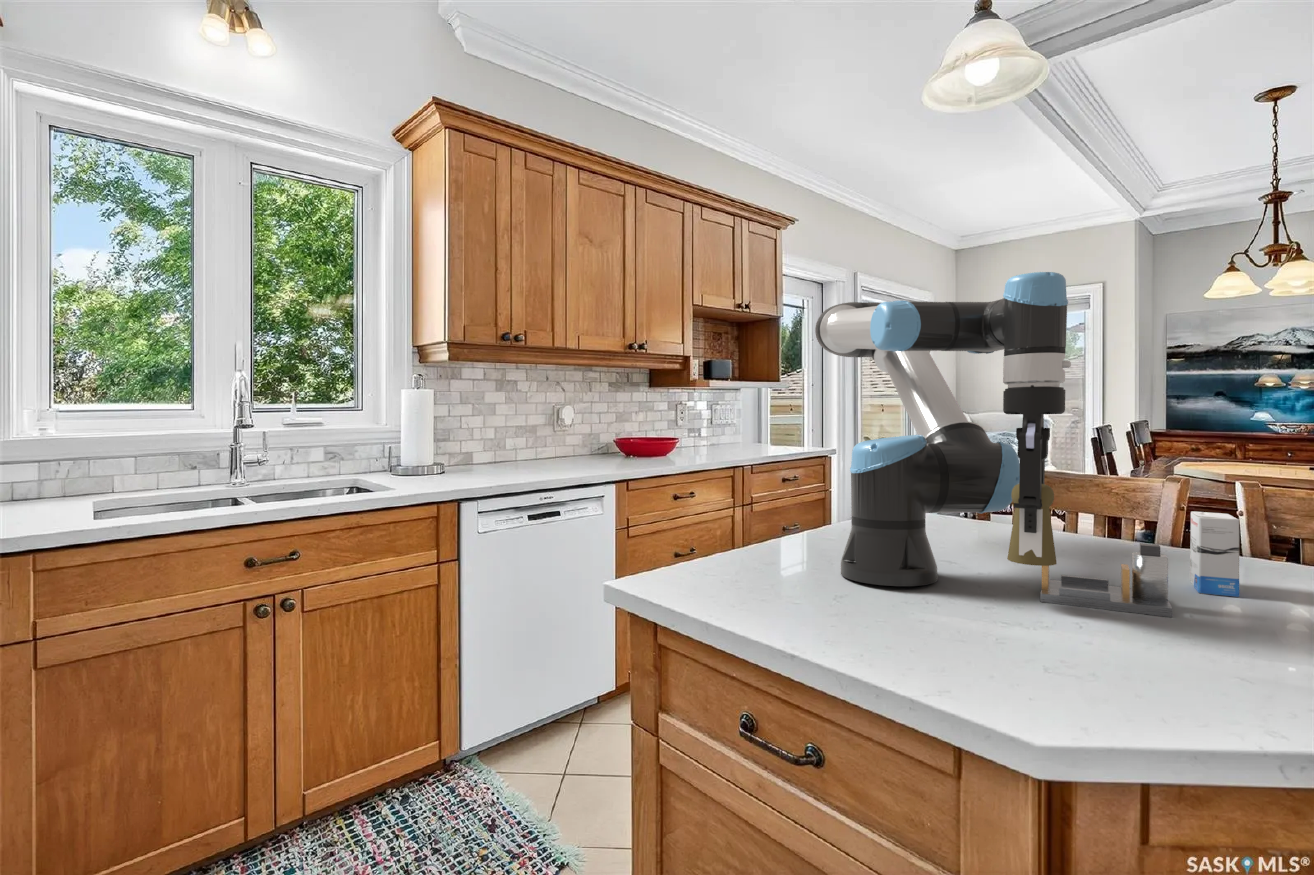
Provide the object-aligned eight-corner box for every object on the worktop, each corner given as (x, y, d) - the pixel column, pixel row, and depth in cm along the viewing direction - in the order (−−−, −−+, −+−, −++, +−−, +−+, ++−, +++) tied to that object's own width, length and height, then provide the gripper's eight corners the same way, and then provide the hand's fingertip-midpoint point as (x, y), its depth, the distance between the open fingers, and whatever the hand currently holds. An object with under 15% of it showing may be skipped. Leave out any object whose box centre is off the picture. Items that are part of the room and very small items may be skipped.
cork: (1064, 566, 88) (1065, 485, 88) (1015, 564, 89) (1016, 484, 89) (1046, 557, 94) (1047, 481, 94) (1001, 555, 95) (1002, 480, 95)
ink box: (1241, 598, 96) (1241, 518, 96) (1197, 594, 99) (1197, 516, 99) (1228, 586, 103) (1228, 512, 103) (1188, 583, 106) (1188, 510, 106)
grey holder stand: (1040, 601, 94) (1040, 542, 94) (1044, 586, 103) (1044, 532, 103) (1172, 617, 86) (1172, 552, 86) (1163, 599, 95) (1163, 540, 95)
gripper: (1063, 382, 82) (1061, 567, 83) (1067, 387, 96) (1064, 545, 97) (996, 384, 86) (994, 560, 87) (1009, 389, 100) (1007, 540, 101)
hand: (1031, 552), depth 92 cm, fingers closed on cork, 4 cm apart
